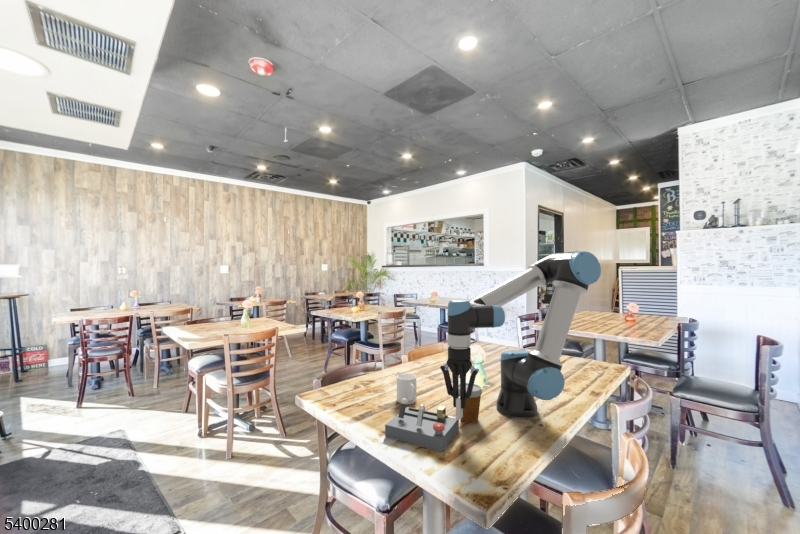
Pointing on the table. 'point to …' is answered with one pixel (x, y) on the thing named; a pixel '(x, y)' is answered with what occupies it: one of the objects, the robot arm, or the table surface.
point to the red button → (439, 428)
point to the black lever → (402, 408)
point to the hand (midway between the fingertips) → (459, 417)
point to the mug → (406, 388)
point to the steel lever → (420, 415)
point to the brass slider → (441, 412)
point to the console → (422, 429)
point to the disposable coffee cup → (471, 405)
